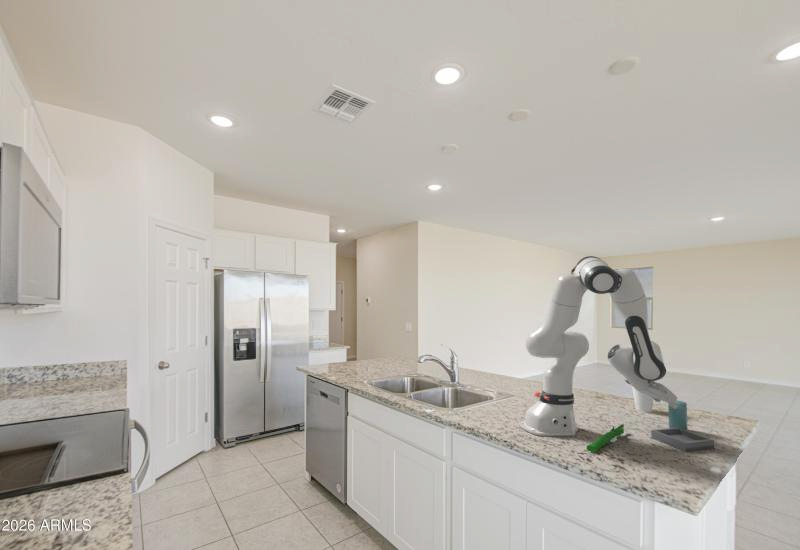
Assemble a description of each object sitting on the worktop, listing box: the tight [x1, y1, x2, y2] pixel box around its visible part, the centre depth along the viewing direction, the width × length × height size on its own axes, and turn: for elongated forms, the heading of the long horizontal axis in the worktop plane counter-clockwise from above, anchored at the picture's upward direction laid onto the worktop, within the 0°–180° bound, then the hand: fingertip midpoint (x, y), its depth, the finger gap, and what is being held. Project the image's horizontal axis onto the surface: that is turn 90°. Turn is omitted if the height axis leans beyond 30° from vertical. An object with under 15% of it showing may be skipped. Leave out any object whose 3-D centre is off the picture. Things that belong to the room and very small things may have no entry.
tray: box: [650, 427, 715, 453], centre depth 134 cm, size 13×13×3 cm
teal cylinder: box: [667, 399, 689, 431], centre depth 148 cm, size 6×6×11 cm
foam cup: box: [631, 385, 654, 413], centre depth 173 cm, size 10×9×13 cm
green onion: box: [586, 423, 625, 453], centre depth 135 cm, size 5×3×30 cm
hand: (667, 403), depth 147 cm, fingers open, 8 cm apart
